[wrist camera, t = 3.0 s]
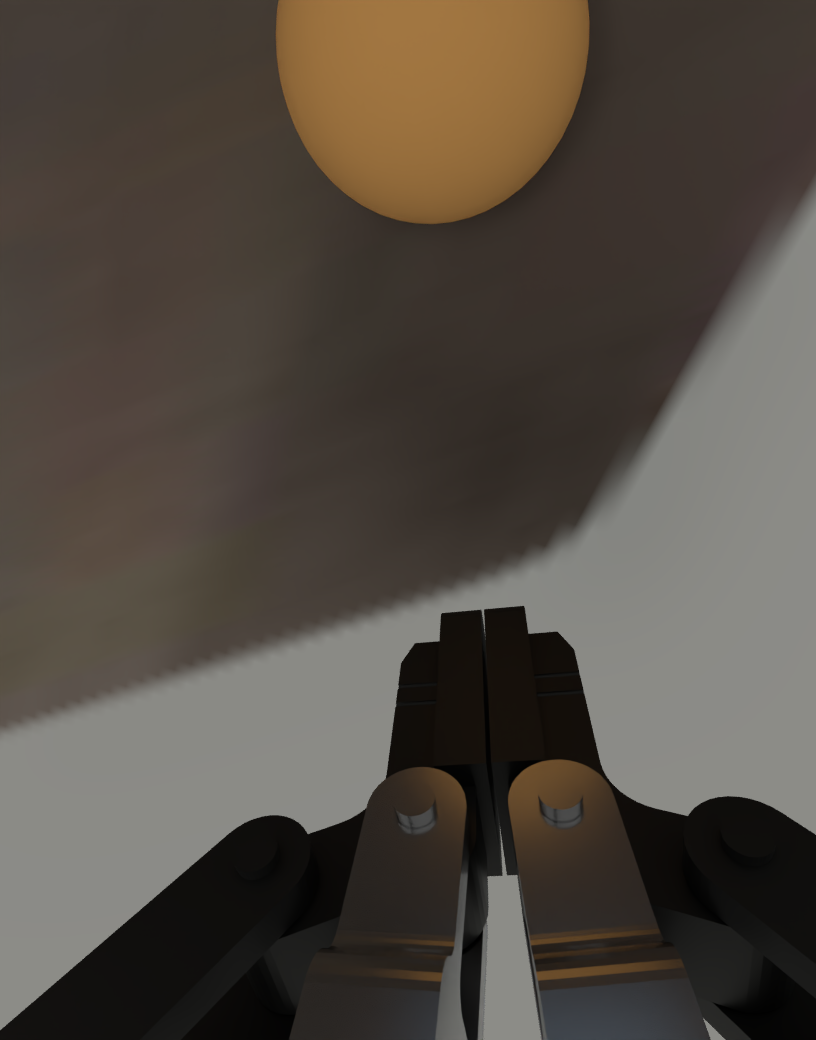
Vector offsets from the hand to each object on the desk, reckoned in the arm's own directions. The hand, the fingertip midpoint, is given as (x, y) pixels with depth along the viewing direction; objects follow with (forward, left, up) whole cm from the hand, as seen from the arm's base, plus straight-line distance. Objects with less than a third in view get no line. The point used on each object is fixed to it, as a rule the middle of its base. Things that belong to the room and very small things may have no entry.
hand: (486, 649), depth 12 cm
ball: (-10, 0, -6) cm, 12 cm away
